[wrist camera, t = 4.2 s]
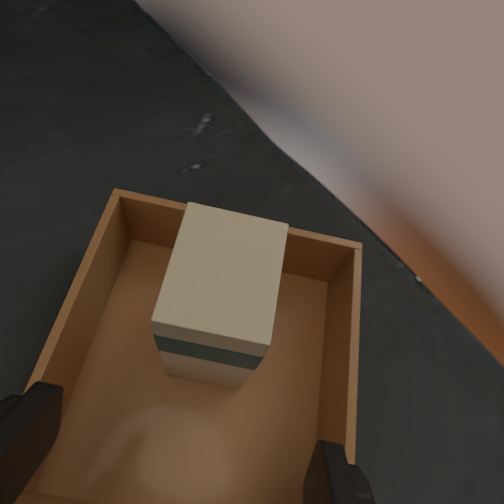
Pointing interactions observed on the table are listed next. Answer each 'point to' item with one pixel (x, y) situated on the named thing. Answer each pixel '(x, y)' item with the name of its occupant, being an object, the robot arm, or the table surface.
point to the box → (191, 391)
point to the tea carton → (219, 295)
